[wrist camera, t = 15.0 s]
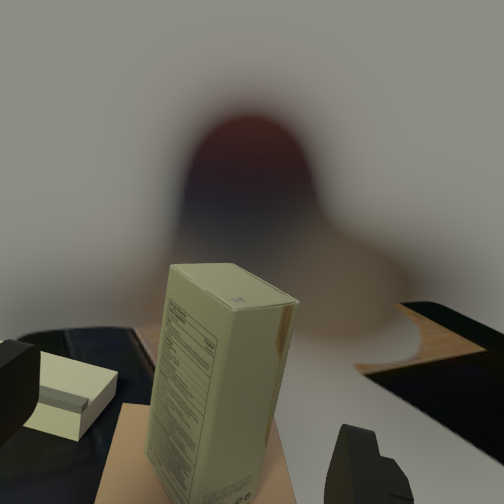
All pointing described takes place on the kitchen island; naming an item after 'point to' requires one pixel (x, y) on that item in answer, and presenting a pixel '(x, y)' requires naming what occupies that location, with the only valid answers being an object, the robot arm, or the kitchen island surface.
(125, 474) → the coaster
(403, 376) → the kitchen island surface
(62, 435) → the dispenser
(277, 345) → the skincare box
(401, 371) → the kitchen island surface
